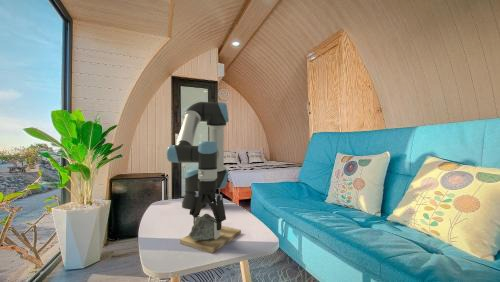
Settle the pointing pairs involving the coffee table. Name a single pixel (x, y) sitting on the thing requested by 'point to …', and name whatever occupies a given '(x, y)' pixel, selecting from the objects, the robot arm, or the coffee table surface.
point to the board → (212, 240)
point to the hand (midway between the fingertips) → (206, 235)
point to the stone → (203, 228)
